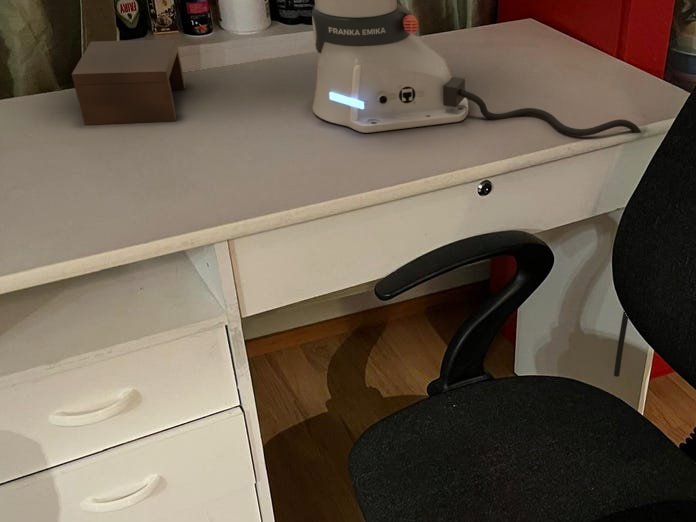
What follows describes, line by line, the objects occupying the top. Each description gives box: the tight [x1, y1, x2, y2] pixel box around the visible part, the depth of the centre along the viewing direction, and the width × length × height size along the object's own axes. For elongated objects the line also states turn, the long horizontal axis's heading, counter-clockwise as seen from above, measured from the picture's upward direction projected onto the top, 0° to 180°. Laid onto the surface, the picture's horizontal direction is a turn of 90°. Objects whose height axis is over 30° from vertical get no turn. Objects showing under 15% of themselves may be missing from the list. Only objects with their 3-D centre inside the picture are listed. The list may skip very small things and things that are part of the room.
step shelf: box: [71, 38, 186, 126], centre depth 122 cm, size 12×14×7 cm
